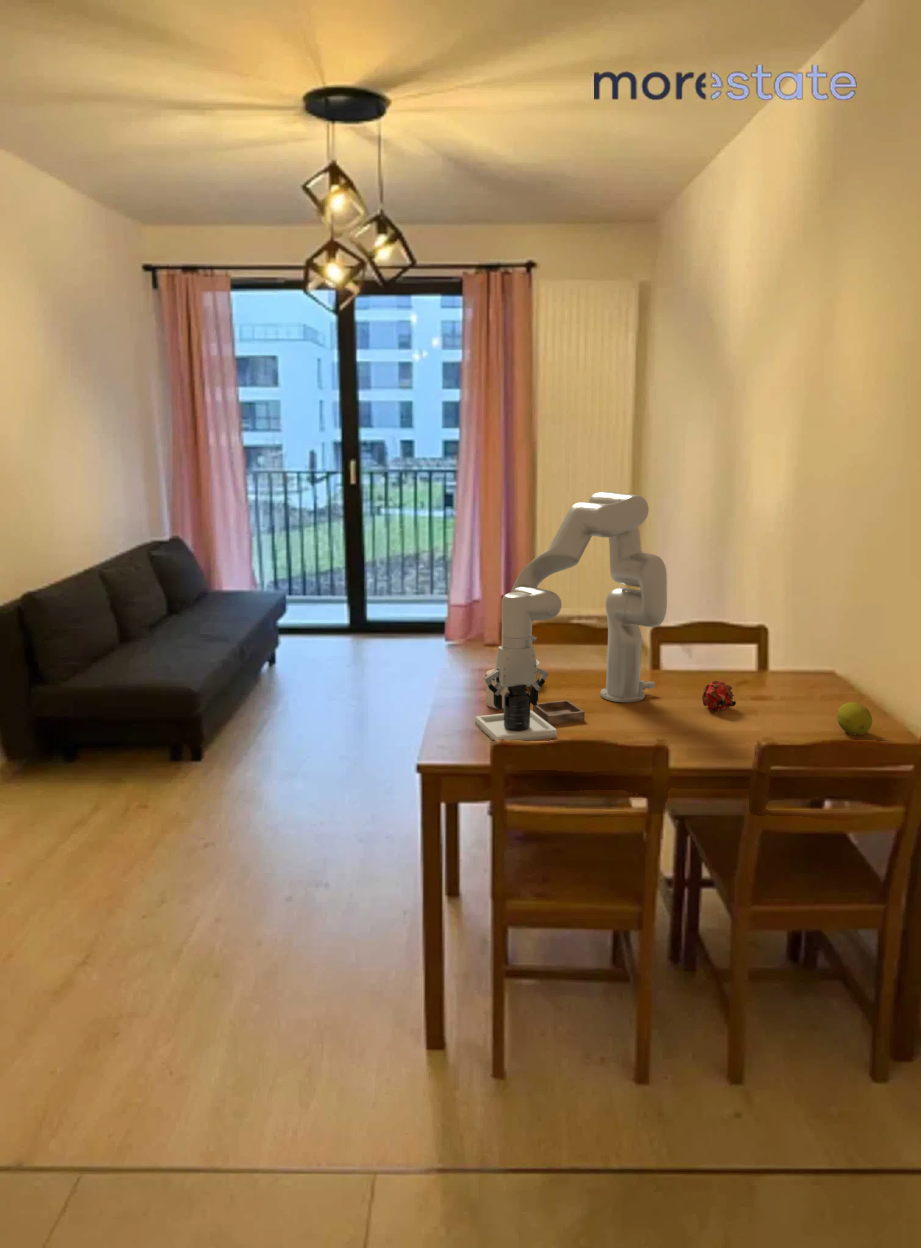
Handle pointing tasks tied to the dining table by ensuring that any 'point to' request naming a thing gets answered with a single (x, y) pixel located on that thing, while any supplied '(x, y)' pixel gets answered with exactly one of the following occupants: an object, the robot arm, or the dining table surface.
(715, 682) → the dragon fruit
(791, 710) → the dining table surface
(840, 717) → the lemon
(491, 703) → the teacup with lid
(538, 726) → the tray
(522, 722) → the supplement bottle
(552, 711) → the holder
